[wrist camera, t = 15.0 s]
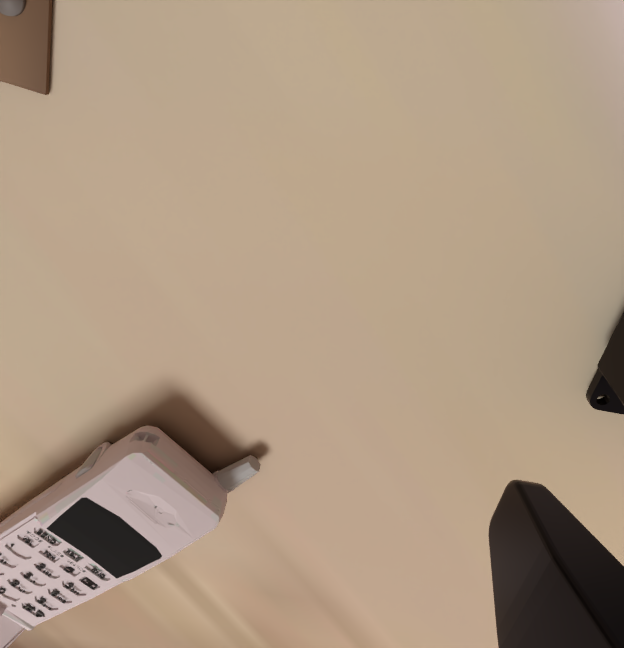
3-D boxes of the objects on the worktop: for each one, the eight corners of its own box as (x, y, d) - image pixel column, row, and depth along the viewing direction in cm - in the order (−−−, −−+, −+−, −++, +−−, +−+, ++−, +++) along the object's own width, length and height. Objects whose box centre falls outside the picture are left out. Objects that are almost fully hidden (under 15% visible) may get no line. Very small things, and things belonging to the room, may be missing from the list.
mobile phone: (-190, 690, 27) (131, 484, 18) (-104, 583, 33) (181, 381, 23) (-85, 741, 29) (251, 579, 20) (-19, 633, 35) (273, 466, 25)
